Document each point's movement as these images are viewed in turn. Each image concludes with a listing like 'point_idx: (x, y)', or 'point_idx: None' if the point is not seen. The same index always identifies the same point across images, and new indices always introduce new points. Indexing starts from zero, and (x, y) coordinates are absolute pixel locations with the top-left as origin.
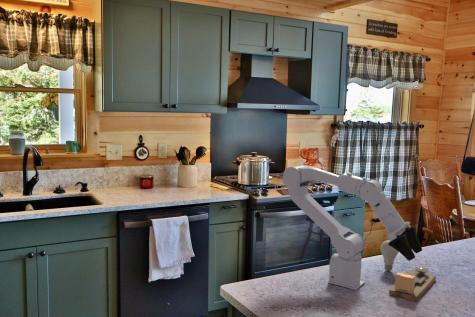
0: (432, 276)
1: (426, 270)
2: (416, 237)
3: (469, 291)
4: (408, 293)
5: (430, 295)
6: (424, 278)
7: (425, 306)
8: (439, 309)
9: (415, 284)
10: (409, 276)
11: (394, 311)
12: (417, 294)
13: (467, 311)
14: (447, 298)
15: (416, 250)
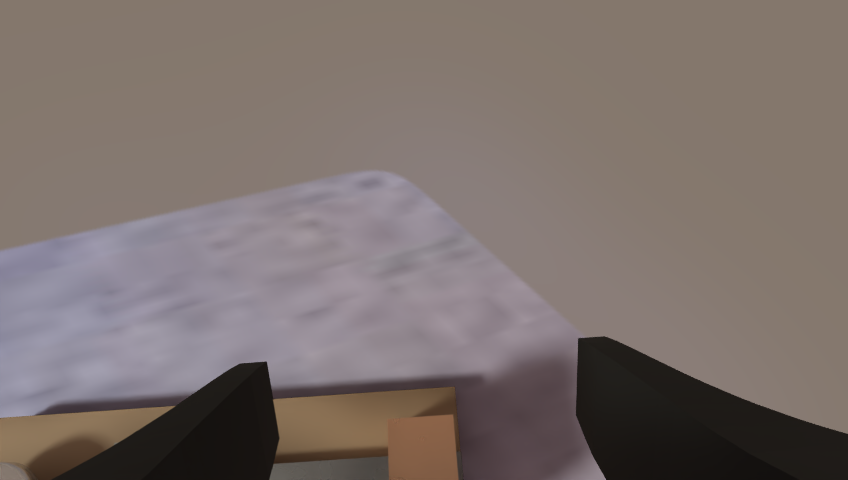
0: (24, 431)
1: (12, 467)
2: (136, 465)
3: (124, 227)
4: None
5: (304, 360)
6: None
7: (476, 330)
8: (460, 267)
9: None
10: (427, 453)
11: None
12: (413, 395)
13: (389, 174)
14: (290, 279)
15: (267, 437)
